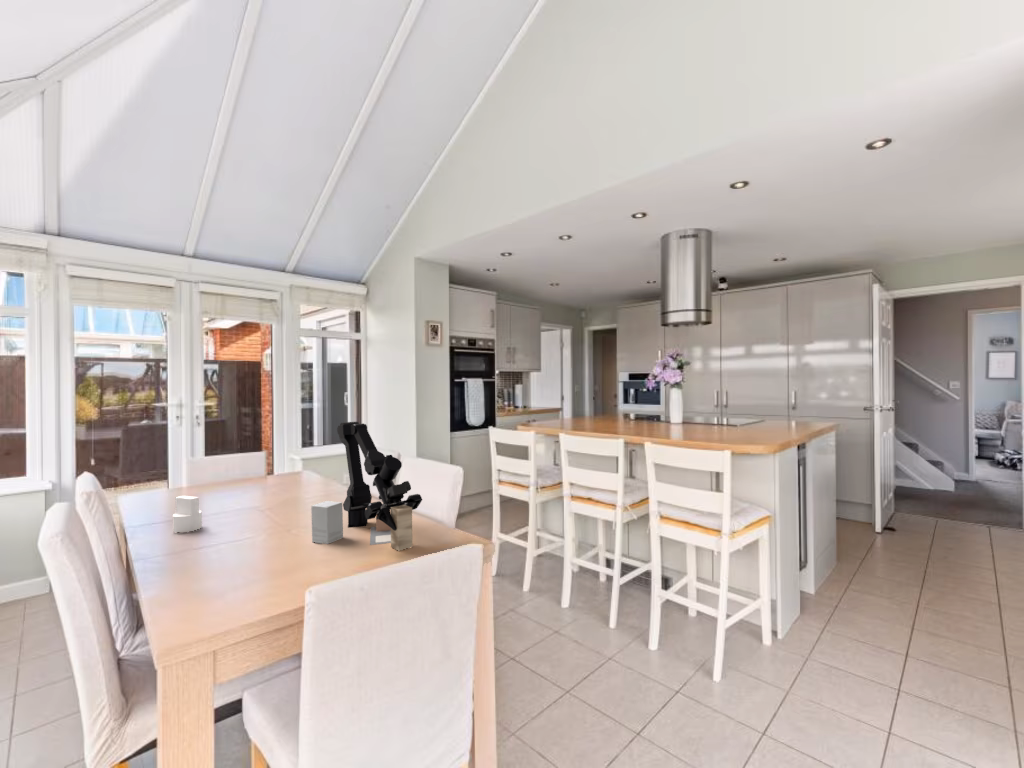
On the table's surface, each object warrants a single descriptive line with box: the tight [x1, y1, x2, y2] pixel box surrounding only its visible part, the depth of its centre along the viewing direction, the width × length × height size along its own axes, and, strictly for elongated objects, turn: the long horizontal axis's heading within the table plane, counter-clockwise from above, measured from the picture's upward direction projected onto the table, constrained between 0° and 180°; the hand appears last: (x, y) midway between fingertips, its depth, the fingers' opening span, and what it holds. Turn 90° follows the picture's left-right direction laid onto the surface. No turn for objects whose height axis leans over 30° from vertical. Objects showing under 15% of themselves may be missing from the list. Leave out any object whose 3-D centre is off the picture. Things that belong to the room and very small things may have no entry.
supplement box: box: [310, 500, 344, 545], centre depth 164 cm, size 7×7×13 cm
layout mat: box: [369, 526, 391, 546], centre depth 168 cm, size 10×20×1 cm, turn 16°
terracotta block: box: [375, 515, 391, 531], centre depth 174 cm, size 5×5×5 cm
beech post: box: [390, 505, 413, 552], centre depth 156 cm, size 5×5×13 cm
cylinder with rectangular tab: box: [172, 495, 203, 533], centre depth 179 cm, size 9×9×12 cm
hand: (403, 528), depth 155 cm, fingers closed on beech post, 5 cm apart
